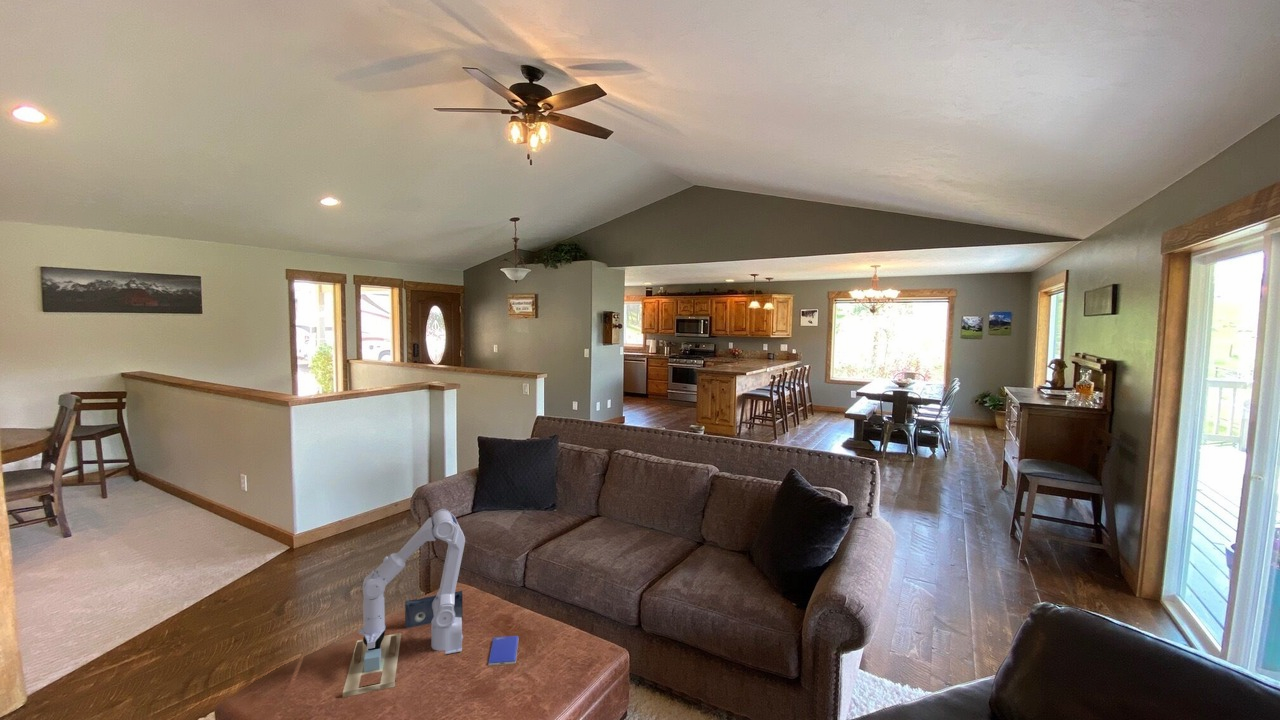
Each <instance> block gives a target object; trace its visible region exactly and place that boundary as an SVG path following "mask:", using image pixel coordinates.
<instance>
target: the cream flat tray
mask: <svg viewBox="0 0 1280 720" xmlns="http://www.w3.org/2000/svg"><path fill="white" fill-rule="evenodd" d="M401 638H402V632H399V633H393V634H388V635H387V634H385V635H384V638H383V640H382V642H381V645H380V648H381V665H380V669H379V670H374V671H369V672H364V658H365V654H366V651H368V649H367V646H366V645H365V644H364V642H363V639H359V640H356V642H355V646H354V650H353V654H352V658H351V660H350V664H349V667H348V673H347V675H346V679H345V683H344V685H343V686H344V687H343V691H342V698H347V697H352V696H357V695H361V694H366V693H371V692H376V691H377V692H378V691H381V690H386V689H390V688H395V685H396V674H397V667H398V659H399V653H400V647H401ZM380 672H381V677H380V682H377V683H372V684H367V685H362V686H360V684H361V683H360V682H361V678H362V676H364V675H369V674H375V673H380Z"/></svg>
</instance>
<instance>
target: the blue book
mask: <svg viewBox="0 0 1280 720" xmlns="http://www.w3.org/2000/svg"><path fill="white" fill-rule="evenodd" d="M518 646H519V635H512V636H511V635H509V636H496V637H493V639H492V643H491V647H490V653H489V659H488V662H487V663H488V664H487V665H488V667H489V666H490V667H491V666H501V665H512V664H516V662H517V654H518Z"/></svg>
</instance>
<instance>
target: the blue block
mask: <svg viewBox="0 0 1280 720" xmlns="http://www.w3.org/2000/svg"><path fill="white" fill-rule="evenodd" d="M380 665H381V648H380V649H374V650H369V651H366V654H365V658H364V672H369V671H374V670H379V669H380Z"/></svg>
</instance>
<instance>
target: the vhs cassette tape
mask: <svg viewBox="0 0 1280 720" xmlns="http://www.w3.org/2000/svg"><path fill="white" fill-rule="evenodd" d="M463 595H464V594H463V591H462V590H460V591H455V604H454V612H455V617H462V621H463V619H464V616H463V608H464V606H463V602H464V601H463ZM436 596H437V594H436V595H432V596H426V597H422V598H418V599H417V598H416V599H410V600H405V601H404V603H405V604H404V605H405V606H404V610H405V611H404V613H405V614H404V615H405V617H404V618H405V621H404V622H405V623H404V625H405V630H406V629H410V628H417V627H420V626H424V625H429V624H431V621H432V619H433V617H434V614H433V609H432V602H433V600H434V599H435V598H436Z"/></svg>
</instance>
